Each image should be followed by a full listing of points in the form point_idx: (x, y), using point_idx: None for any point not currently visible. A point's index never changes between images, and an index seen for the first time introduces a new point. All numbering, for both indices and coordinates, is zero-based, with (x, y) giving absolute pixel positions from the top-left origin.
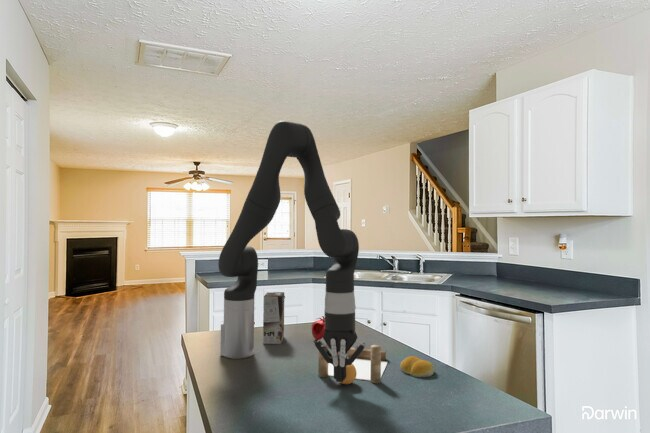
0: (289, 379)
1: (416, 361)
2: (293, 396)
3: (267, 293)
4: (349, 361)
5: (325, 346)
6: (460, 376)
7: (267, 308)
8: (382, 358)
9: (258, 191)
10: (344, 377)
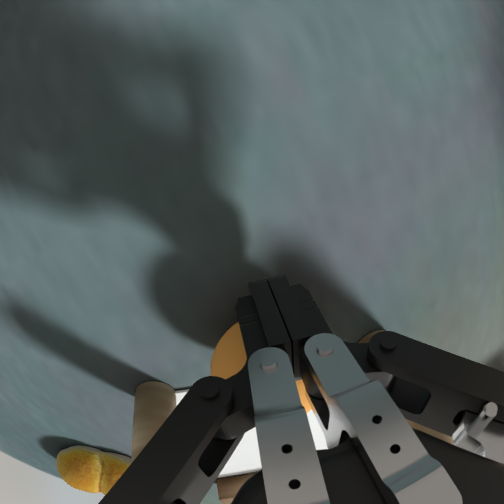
0: (473, 249)
1: (99, 487)
2: (431, 90)
3: None
4: (209, 401)
5: (447, 431)
6: (20, 456)
7: None
8: (223, 483)
9: None
10: (238, 308)
